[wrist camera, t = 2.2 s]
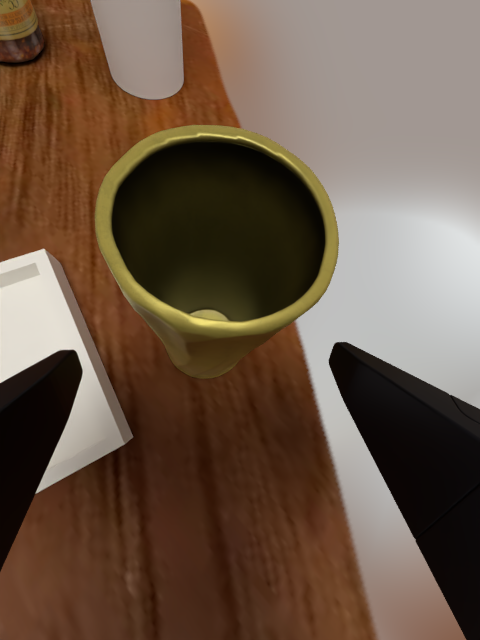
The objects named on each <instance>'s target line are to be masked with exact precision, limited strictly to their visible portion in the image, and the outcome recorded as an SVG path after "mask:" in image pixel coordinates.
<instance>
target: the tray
mask: <svg viewBox="0 0 480 640" xmlns="http://www.w3.org/2000/svg"><path fill="white" fill-rule="evenodd" d="M59 350H75V351H76V352H77V354H78V357H79V360H80V363H81V366H82V369H83V375H82V379H81V382H80V385H79V388H78V391H77V395H76V398H75V401H74V404H73V407H72V410H71V413H70V416H69V419H68V422H67V424H66V426H65V429H64V431H63V433H62V435H61V438H60V440H59V442H58V444H57V447H56V449H55V451H54V453H53V455H52V458H51V460H50V462H49V464H48V467H47V469H46V471H45V473H44V475H43V478H42V480H41V482H40V484H39V487H38V489H37V491H36V493H38V492H40V491H41V490H43V489H45V488H47V487H49V486H50V485H52V484H54V483H56V482H58V481H59V480H61V479H63V478H65V477H67V476H68V475H70V474H72V473H74V472H76V471H77V470H79V469H81V468H83V467H85V466H86V465H88V464H90V463H92V462H94V461H95V460H97V459H99V458H101V457H103V456H104V455H106V454H108V453H110V452H112V451H114V450H115V449H117V448H119V447H121V446H123V445H124V444H126V443H127V442H128V441H129V440H130V439H132V438H133V435H132V433H131V430H130V428H129V426H128V423H127V421H126V418H125V416H124V414H123V411H122V409H121V406H120V404H119V402H118V399H117V397H116V394H115V392H114V390H113V387H112V385H111V383H110V380H109V378H108V375H107V373H106V371H105V368H104V366H103V363H102V361H101V359H100V356H99V354H98V352H97V349H96V347H95V344H94V342H93V340H92V337H91V335H90V332H89V330H88V328H87V325H86V323H85V320H84V318H83V316H82V313H81V311H80V309H79V306H78V304H77V301H76V299H75V297H74V294H73V292H72V289H71V287H70V285H69V282H68V280H67V277H66V275H65V273H64V270H63V268H62V266H61V263H60V262H59V261H58V260H57V259H55V258H54V257H53V256H52V255H51V254H50V253H49V252H47V251H46V250H45V249H42V250H39V251H36V252H32V253H29V254H26V255H23V256H19V257H16V258H13V259H10V260H7V261H3V262H0V383H1V382H3V381H5V380H6V379H8V378H10V377H12V376H14V375H15V374H17V373H19V372H21V371H23V370H24V369H26V368H28V367H30V366H32V365H34V364H35V363H37V362H39V361H41V360H43V359H44V358H46V357H48V356H50V355H52V354H53V353H55V352H57V351H59ZM36 493H35V494H36Z"/></svg>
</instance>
